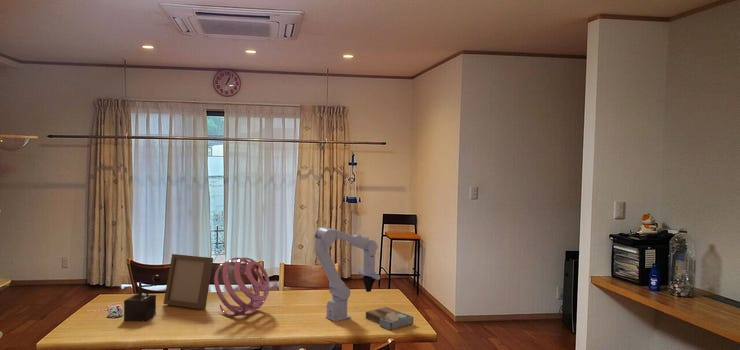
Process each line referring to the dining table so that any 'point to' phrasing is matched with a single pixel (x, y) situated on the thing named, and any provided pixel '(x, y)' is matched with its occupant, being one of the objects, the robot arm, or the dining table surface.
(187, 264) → the photo frame
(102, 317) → the dining table surface
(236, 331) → the dining table surface
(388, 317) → the beige block
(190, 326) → the dining table surface
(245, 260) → the spiral basket
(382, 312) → the board
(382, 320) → the tray
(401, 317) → the sage tile
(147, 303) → the manual coffee grinder
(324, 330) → the dining table surface
